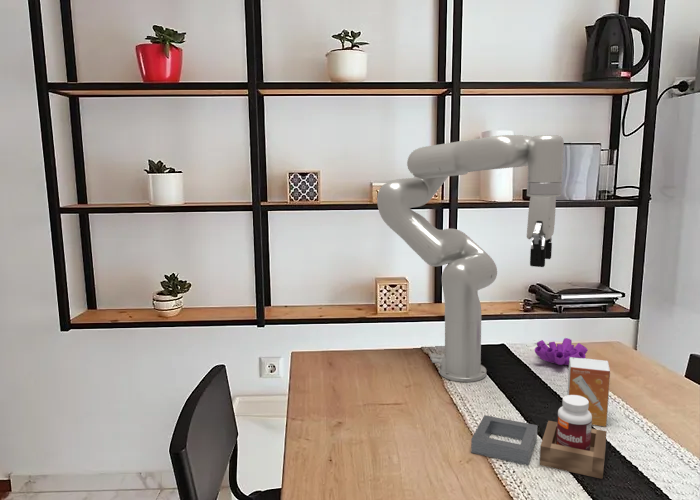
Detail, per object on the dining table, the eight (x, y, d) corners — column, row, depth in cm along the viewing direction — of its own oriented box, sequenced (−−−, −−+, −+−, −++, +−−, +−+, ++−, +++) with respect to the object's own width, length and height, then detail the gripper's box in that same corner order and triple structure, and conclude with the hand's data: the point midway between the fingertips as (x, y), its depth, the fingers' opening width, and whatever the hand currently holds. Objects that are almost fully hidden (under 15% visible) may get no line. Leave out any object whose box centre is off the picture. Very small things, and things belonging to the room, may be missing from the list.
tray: (539, 465, 107) (540, 445, 106) (547, 438, 116) (548, 420, 115) (602, 478, 102) (603, 458, 101) (605, 449, 111) (606, 431, 111)
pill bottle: (550, 453, 108) (553, 401, 107) (562, 440, 113) (564, 390, 111) (583, 464, 104) (586, 410, 103) (594, 450, 109) (597, 398, 107)
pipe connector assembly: (587, 375, 155) (600, 356, 148) (536, 379, 154) (547, 360, 147) (571, 341, 163) (583, 322, 156) (522, 344, 161) (532, 325, 154)
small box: (567, 422, 123) (569, 366, 120) (566, 409, 129) (568, 356, 126) (607, 427, 120) (610, 370, 118) (604, 414, 126) (608, 359, 124)
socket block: (471, 452, 111) (471, 438, 111) (484, 428, 121) (484, 415, 121) (528, 465, 107) (528, 450, 106) (536, 438, 116) (537, 425, 116)
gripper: (533, 186, 137) (530, 254, 141) (519, 192, 122) (517, 268, 126) (566, 187, 134) (562, 256, 137) (555, 193, 119) (552, 271, 122)
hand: (540, 262), depth 131 cm, fingers open, 9 cm apart
